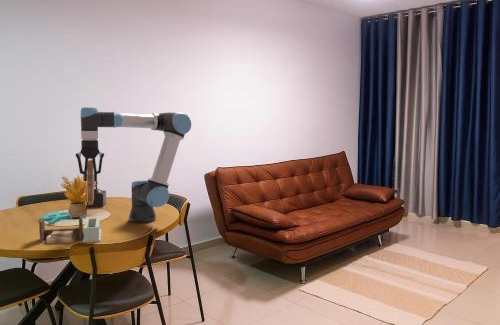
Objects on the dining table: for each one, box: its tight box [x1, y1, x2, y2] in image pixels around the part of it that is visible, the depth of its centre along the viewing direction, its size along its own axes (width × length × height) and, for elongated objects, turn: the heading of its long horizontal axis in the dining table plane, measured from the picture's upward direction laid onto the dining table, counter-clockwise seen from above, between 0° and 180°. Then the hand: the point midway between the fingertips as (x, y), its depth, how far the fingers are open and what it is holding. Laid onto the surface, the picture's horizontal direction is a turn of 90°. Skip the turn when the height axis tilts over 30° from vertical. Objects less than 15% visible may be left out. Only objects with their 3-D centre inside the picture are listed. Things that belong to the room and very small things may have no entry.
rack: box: [38, 216, 84, 244], centre depth 192 cm, size 18×8×10 cm, turn 109°
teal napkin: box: [38, 211, 86, 226], centre depth 230 cm, size 20×2×20 cm
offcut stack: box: [46, 231, 77, 244], centre depth 190 cm, size 12×5×4 cm, turn 101°
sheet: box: [87, 159, 95, 205], centre depth 195 cm, size 15×2×20 cm, turn 19°
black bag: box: [86, 180, 107, 208], centre depth 260 cm, size 16×11×18 cm
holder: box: [81, 217, 102, 243], centre depth 197 cm, size 8×19×7 cm, turn 19°
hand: (90, 187), depth 195 cm, fingers closed on sheet, 2 cm apart
